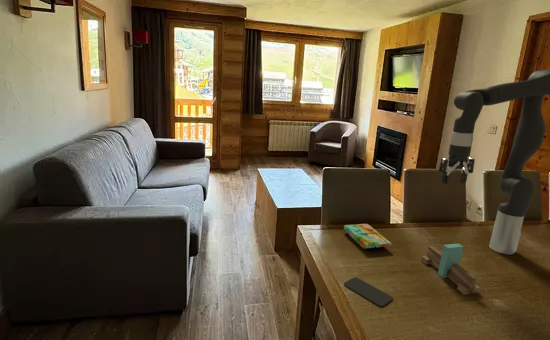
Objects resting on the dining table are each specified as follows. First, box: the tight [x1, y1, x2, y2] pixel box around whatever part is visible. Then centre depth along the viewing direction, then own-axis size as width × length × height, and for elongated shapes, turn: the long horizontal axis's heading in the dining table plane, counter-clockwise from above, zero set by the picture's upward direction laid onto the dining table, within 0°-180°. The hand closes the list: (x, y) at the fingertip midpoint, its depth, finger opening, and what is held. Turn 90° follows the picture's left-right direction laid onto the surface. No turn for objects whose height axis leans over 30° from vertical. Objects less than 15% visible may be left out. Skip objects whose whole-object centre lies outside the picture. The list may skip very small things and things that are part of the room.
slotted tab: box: [437, 243, 464, 279], centre depth 119 cm, size 6×2×12 cm, turn 104°
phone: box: [343, 277, 394, 308], centre depth 108 cm, size 7×1×15 cm
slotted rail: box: [420, 245, 481, 296], centre depth 119 cm, size 6×22×6 cm, turn 14°
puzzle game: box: [343, 223, 393, 249], centre depth 143 cm, size 12×5×20 cm
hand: (453, 183), depth 132 cm, fingers open, 8 cm apart
